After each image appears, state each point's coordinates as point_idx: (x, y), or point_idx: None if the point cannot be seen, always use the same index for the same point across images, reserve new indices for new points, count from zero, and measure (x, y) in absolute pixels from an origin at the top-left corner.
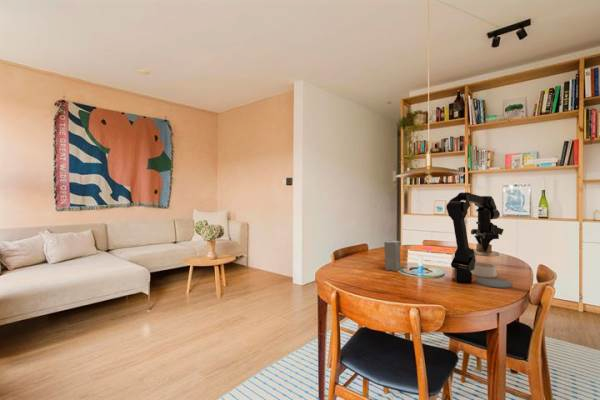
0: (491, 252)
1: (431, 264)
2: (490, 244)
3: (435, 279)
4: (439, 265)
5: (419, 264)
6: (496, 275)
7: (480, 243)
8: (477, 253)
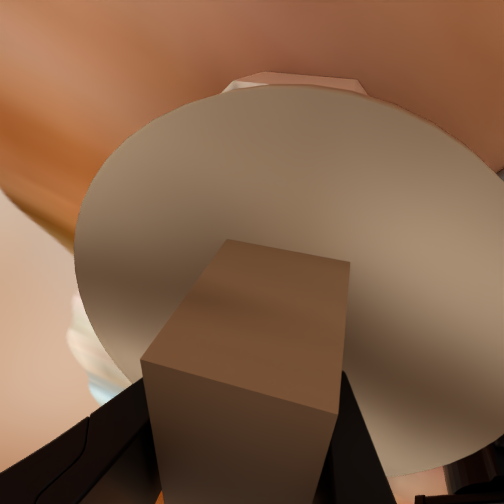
0: (350, 266)
1: (83, 353)
2: (253, 393)
3: (402, 486)
4: (93, 329)
5: (103, 399)
6: (361, 86)
7: (149, 488)
8: (392, 473)
